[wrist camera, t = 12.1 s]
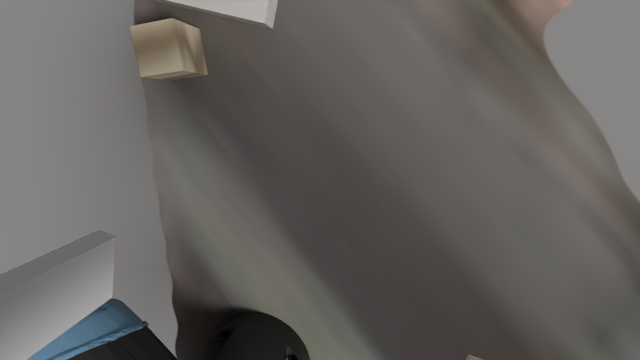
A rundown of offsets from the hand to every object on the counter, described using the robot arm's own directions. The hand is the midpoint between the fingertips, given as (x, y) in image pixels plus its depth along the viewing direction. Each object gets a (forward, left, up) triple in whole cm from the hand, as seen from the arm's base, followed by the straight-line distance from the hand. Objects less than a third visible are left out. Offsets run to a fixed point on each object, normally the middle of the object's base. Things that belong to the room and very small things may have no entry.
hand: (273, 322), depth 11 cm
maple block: (+8, +22, -27) cm, 36 cm away
